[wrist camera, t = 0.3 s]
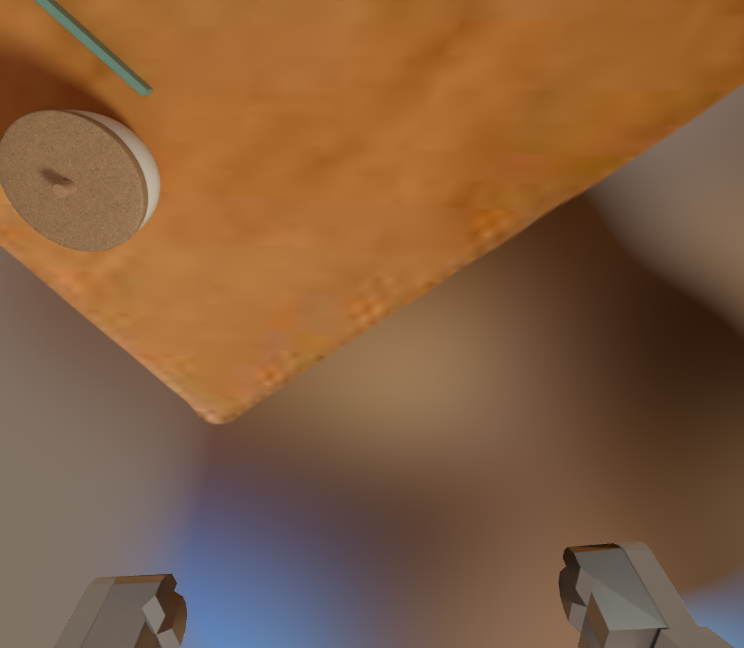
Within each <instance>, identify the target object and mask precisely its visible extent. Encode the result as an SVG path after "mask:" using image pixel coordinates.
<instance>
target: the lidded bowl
mask: <svg viewBox="0 0 744 648" xmlns="http://www.w3.org/2000/svg"><path fill="white" fill-rule="evenodd" d="M0 180H1V184H2V187H3V189H4V191H5V193H6V195H7V197H8V199H9V201H10V202H11V204H12V206H13V207H14V208H15V210H16V211H17V212H18V213H19V215H20V216H21V217H22V218H23V219H24V220H25V221H26V222H27V223H28V224H29V225H30V226H31V227H32V228H33V229H35V230H36V231H37V232H39V233H40V234H41V235H43V236H44V237H46V238H48V239H49V240H51V241H53V242H55V243H57V244H59V245H62V246H65V247H68V248H70V249H75V250H79V251H88V252H97V251H105V250H109V249H112V248H115V247H117V246H119V245H121V244H123V243H124V242H126V241H127V240H128V239H130V238H131V237H132V236H133V235H134V234H135V233H136V232H137V231H138V230H140V229H141V228H142V227H143V226H144V225H145V224H146V223H147V221H148V220H149V219H150V217H151V216H152V214H153V213H154V211H155V209H156V206H157V204H158V201H159V197H160V189H161V182H160V174H159V170H158V167H157V164H156V161H155V159H154V157H153V155H152V153H151V152H150V150H149V148H148V147H147V146H146V145H145V143H144V142H143V141H142V140H141V139H140V138H139V137H138V136H137V135H136V134H135V133H134V132H133V131H131V130H130V129H129V128H127V127H126V126H125V125H123V124H121V123H120V122H118V121H116V120H114V119H112V118H109V117H107V116H104V115H101V114H98V113H94V112H90V111H83V110H73V109H70V110H62V109H47V110H38V111H34V112H30V113H27V114H25V115H23V116H21V117H19V118H18V119H17V120H15V121H14V122H13V123H12V124H11V125H10V126H9V127H8V128H7V130H6V131H5V132H4V135H3V137H2V139H1V141H0Z"/></svg>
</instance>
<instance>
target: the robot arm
mask: <svg viewBox="0 0 744 648" xmlns="http://www.w3.org/2000/svg"><path fill="white" fill-rule="evenodd" d="M563 560H564V562H565V565H566V567H565V568H564V569H562V570H561V571H560V574H559V591H560V597H561V601H562V605H563V609H564V611H565V614H566V617H567V619H568V621H569V623H570V624H571V625H573V626H574V627H575V628H576V629H577V630H578V631H579V632H580V633H581V634H580V639H579V643H578V648H734V647H733V646H732V645H730V644H729V643H728V642H726V641H725V640H724V639H722V638H721V637H720V636H718V635H717V634H716V633H714V632H713V631H712V630H711V629H709V628H708V627H699V626H698V625H697V623H696V622H695V620H694V619H693V617H692V615H691V614H690V612H689V611H688V609H687V607H686V606H685V604H684V603H683V601H682V599H681V598H680V596H679V595H678V593H677V592H676V590H675V588H674V587H673V585H672V584H671V582H670V580H669V579H668V577H667V576H666V574H665V573H664V571H663V569H662V568H661V566H660V565H659V563H658V561H657V560H656V558H655V557H654V555H653V554H652V552H651V550H650V549H649V547H648V546H646V545H645V544H644V543H643V542H628V543H616V544H615V543H607V544H596V545H583V546H572V547H567V548H566V549H565V550H564V554H563ZM176 585H177V582H176V580H175V578H174V577H173V575H172V574H157V575H139V576H116V577H102V578H96V579H95V580H94V581H93V582H92V583H91V584H90V585H89V586H88V587H87V589H86V591H85V593H84V594H83V596H82V598H81V600H80V601H79V603H78V605H77V607H76V609H75V610H74V613H73V614H72V616H71V618H70V620H69V621H68V623H67V625H66V627H65V629H64V631H63V632H62V634H61V636H60V638H59V640H58V641H57V643H56V645H55V647H54V648H179V647H180V646H181V642H182V639H183V636H184V633H185V628H186V620H187V608H186V602H185V600H184V598H183V596H181V595H180V594H178V593H176V592H175V591H174V590H175V587H176Z"/></svg>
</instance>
